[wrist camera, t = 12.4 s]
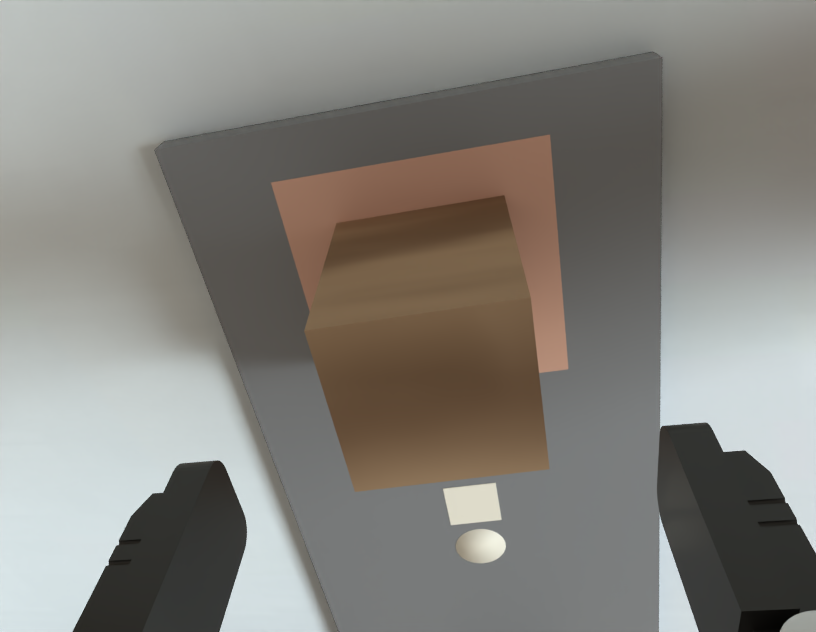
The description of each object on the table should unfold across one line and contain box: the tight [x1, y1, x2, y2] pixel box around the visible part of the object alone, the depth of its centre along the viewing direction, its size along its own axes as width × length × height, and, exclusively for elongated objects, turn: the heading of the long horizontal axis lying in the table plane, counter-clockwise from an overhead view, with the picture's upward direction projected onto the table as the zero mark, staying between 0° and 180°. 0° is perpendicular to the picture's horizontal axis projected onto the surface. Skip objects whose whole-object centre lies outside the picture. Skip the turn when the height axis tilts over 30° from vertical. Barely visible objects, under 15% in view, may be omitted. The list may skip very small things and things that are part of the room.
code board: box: [155, 52, 662, 632], centre depth 27 cm, size 33×14×1 cm, turn 11°
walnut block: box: [304, 195, 550, 492], centre depth 18 cm, size 5×5×6 cm
